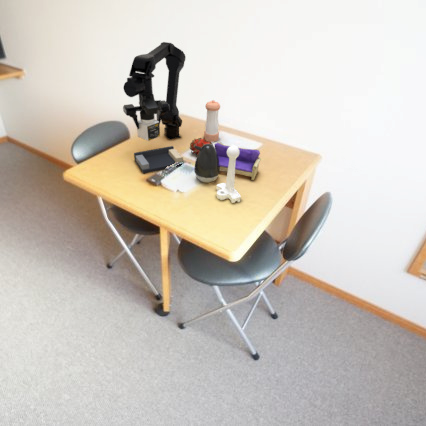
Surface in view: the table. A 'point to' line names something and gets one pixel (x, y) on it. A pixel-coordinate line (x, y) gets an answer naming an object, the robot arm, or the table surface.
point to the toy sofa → (239, 160)
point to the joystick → (229, 178)
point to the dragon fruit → (198, 144)
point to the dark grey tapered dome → (207, 163)
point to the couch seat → (157, 159)
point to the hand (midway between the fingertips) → (148, 127)
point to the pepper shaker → (212, 121)
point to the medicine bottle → (148, 127)
